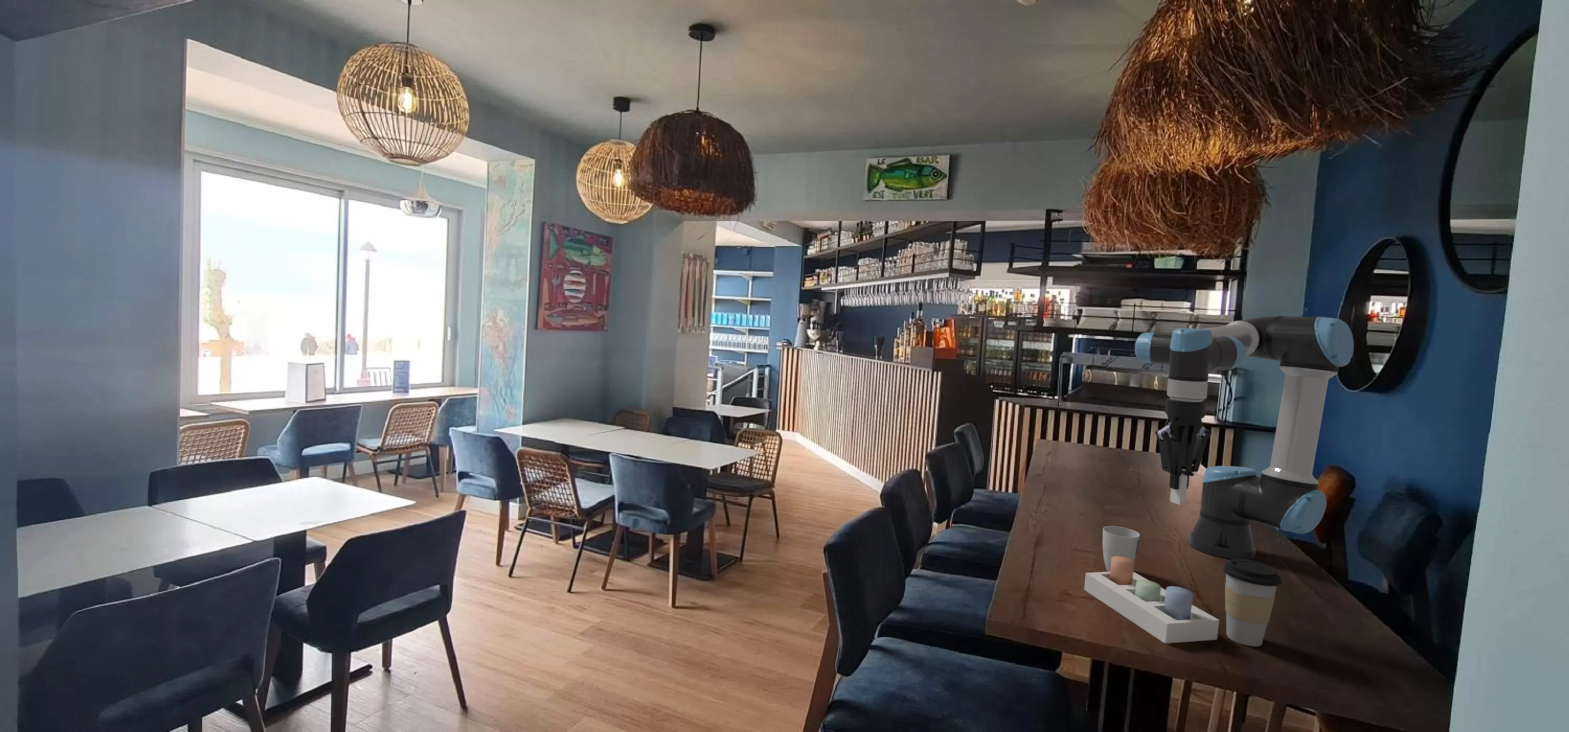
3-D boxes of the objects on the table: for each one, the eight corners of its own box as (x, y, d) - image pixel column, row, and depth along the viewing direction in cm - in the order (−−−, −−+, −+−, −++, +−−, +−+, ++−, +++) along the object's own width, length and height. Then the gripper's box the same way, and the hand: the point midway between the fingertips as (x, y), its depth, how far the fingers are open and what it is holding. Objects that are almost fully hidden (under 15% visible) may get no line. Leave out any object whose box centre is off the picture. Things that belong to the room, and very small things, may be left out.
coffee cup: (1205, 627, 135) (1213, 556, 134) (1248, 627, 136) (1256, 557, 135) (1240, 651, 126) (1249, 575, 124) (1286, 651, 127) (1295, 576, 125)
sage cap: (1147, 601, 143) (1149, 579, 143) (1163, 611, 139) (1166, 588, 138) (1129, 602, 142) (1131, 580, 142) (1144, 612, 138) (1147, 589, 137)
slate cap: (1177, 609, 135) (1180, 585, 135) (1195, 619, 131) (1198, 595, 130) (1158, 610, 134) (1160, 586, 134) (1176, 621, 130) (1178, 596, 129)
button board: (1129, 587, 154) (1131, 570, 153) (1217, 639, 130) (1219, 619, 130) (1084, 589, 151) (1085, 572, 151) (1165, 643, 128) (1167, 623, 127)
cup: (1140, 579, 158) (1144, 539, 158) (1104, 575, 160) (1107, 535, 159) (1130, 566, 166) (1133, 527, 165) (1095, 562, 168) (1099, 524, 167)
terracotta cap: (1122, 576, 151) (1124, 555, 150) (1137, 585, 146) (1139, 563, 146) (1104, 577, 150) (1106, 556, 149) (1119, 586, 145) (1121, 564, 145)
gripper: (1196, 395, 150) (1188, 496, 153) (1148, 396, 147) (1140, 499, 150) (1225, 400, 143) (1215, 506, 146) (1174, 402, 140) (1165, 510, 143)
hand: (1177, 502), depth 148 cm, fingers closed
